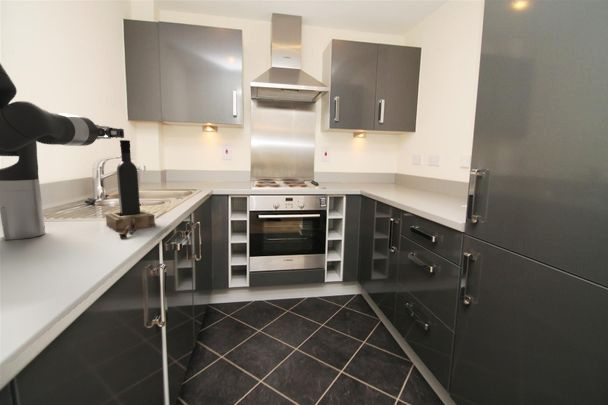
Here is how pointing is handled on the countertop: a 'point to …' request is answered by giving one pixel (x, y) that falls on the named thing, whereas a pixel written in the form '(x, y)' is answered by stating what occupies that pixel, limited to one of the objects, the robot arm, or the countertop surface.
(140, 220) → the square wooden picture frame
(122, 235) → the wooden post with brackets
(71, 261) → the countertop surface
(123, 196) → the wine bottle
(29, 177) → the robot arm
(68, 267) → the countertop surface
